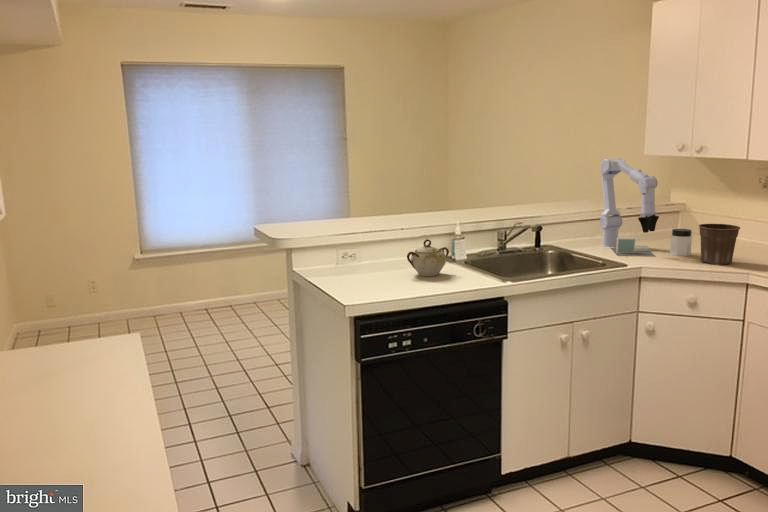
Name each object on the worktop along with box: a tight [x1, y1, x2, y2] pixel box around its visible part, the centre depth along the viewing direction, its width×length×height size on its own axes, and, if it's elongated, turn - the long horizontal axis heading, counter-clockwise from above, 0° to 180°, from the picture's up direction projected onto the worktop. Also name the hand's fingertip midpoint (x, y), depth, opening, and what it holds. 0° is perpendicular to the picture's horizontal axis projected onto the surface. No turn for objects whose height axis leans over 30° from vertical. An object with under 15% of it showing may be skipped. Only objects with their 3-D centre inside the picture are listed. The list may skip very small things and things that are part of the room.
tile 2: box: [635, 245, 651, 252], centre depth 311 cm, size 7×8×2 cm
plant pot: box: [698, 223, 741, 265], centre depth 280 cm, size 16×16×16 cm
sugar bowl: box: [406, 238, 450, 277], centre depth 267 cm, size 20×15×15 cm
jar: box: [669, 228, 693, 257], centre depth 298 cm, size 9×8×12 cm
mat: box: [610, 247, 657, 258], centre depth 306 cm, size 22×17×1 cm
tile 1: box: [616, 237, 636, 253], centre depth 304 cm, size 2×8×7 cm, turn 79°
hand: (648, 231), depth 300 cm, fingers open, 7 cm apart
